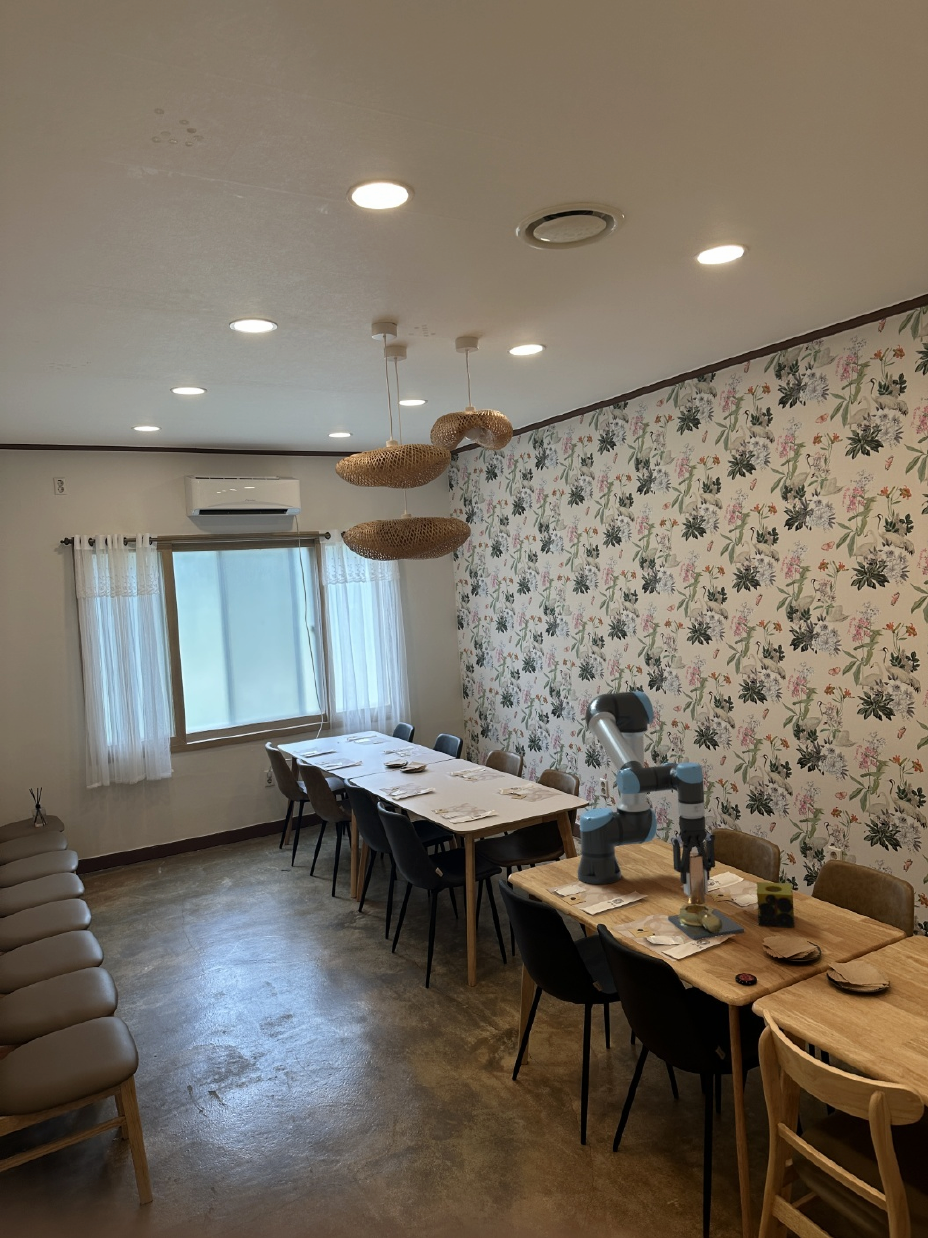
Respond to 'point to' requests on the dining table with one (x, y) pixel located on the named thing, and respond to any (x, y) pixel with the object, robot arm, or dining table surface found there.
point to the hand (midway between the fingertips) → (695, 892)
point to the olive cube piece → (775, 904)
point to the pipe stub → (696, 879)
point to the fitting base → (704, 931)
